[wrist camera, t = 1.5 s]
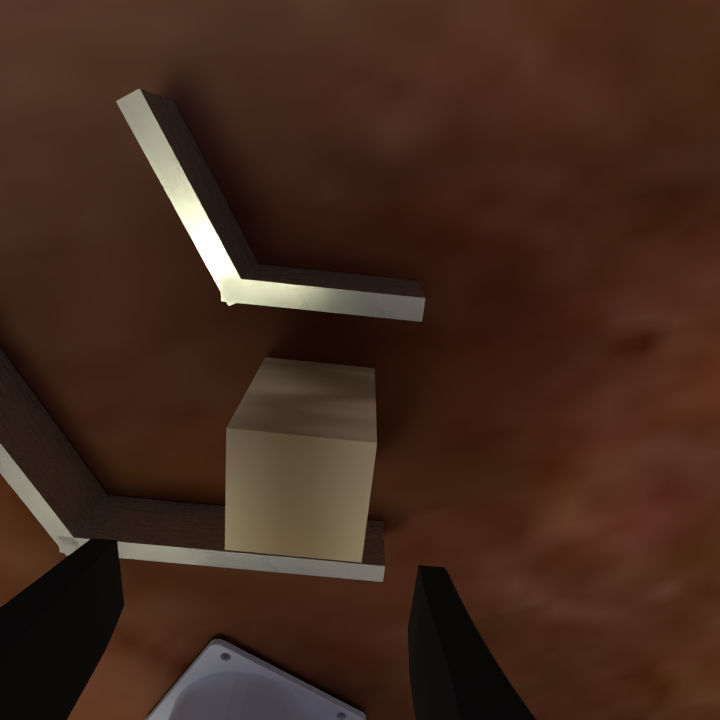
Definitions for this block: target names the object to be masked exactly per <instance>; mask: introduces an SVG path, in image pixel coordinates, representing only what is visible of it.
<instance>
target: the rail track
mask: <svg viewBox="0 0 720 720" xmlns="http://www.w3.org/2000/svg"><path fill="white" fill-rule="evenodd" d="M116 102H117V104H118V106H119V108H120V110H121V111H122V113H123V115H124V117H125V119H126V120H127V122H128V124H129V126H130V128H131V130H132V131H133V133H134V135H135V137H136V139H137V140H138V142H139V144H140V146H141V148H142V150H143V151H144V153H145V155H146V157H147V159H148V160H149V162H150V164H151V166H152V168H153V170H154V171H155V173H156V175H157V177H158V179H159V180H160V182H161V184H162V186H163V188H164V190H165V191H166V193H167V195H168V197H169V199H170V200H171V202H172V204H173V206H174V208H175V210H176V211H177V213H178V215H179V217H180V219H181V220H182V222H183V224H184V226H185V228H186V230H187V231H188V233H189V235H190V237H191V239H192V240H193V242H194V244H195V246H196V248H197V250H198V251H199V253H200V255H201V257H202V259H203V260H204V262H205V264H206V266H207V268H208V270H209V271H210V273H211V275H212V277H213V279H214V280H215V282H216V284H217V286H218V288H219V290H220V291H221V301H224V302H227V304H228V306H230V305H233V304H235V303H244V304H253V305H263V306H273V307H283V308H292V309H302V310H312V311H321V312H331V313H341V314H350V315H360V316H370V317H380V318H389V319H399V320H409V321H418V322H422V317H423V311H424V304H425V296H424V294H423V292H422V290H421V287H420V285H419V283H418V281H416V280H406V279H397V278H387V277H377V276H368V275H358V274H349V273H339V272H330V271H320V270H311V269H301V268H292V267H282V266H273V265H263V264H258V263H257V261H256V259H255V257H254V255H253V253H252V251H251V249H250V247H249V245H248V243H247V241H246V239H245V237H244V235H243V233H242V231H241V230H240V228H239V226H238V224H237V222H236V220H235V218H234V216H233V214H232V212H231V210H230V208H229V206H228V204H227V202H226V200H225V198H224V196H223V195H222V193H221V191H220V189H219V187H218V185H217V183H216V181H215V179H214V177H213V175H212V173H211V171H210V169H209V167H208V165H207V163H206V161H205V160H204V158H203V156H202V154H201V152H200V150H199V148H198V146H197V144H196V142H195V140H194V138H193V136H192V134H191V132H190V130H189V128H188V127H187V125H186V123H185V121H184V119H183V117H182V115H181V113H180V111H179V109H178V107H177V105H176V103H175V101H173V100H170V99H167V98H165V97H162V96H159V95H156V94H153V93H151V92H148V91H145V90H142V89H138V90H136V91H134V92H132V93H130V94H129V95H127V96H125V97H123V98H121V99H119V100H118V101H116ZM0 473H1V474H2V476H3V477H4V478H5V479H6V481H7V482H8V483H9V484H10V486H11V487H12V488H13V489H14V491H15V492H16V493H17V494H18V496H19V497H20V498H21V499H22V501H23V502H24V503H25V504H26V506H27V507H28V508H29V509H30V511H31V512H32V513H33V514H34V516H35V517H36V518H37V519H38V521H39V522H40V523H41V524H42V526H43V527H44V528H45V529H46V531H47V532H48V533H49V534H50V536H51V537H52V538H53V539H54V541H55V542H56V543H57V544H58V546H59V550H60V552H61V553H65V555H66V556H68V555H70V554H71V553H73V552H74V551H75V550H77V549H78V548H79V547H80V546H82V545H83V544H84V543H86V542H87V541H88V540H90V539H91V538H95V539H107V540H117V544H118V553H119V558H126V559H137V560H148V561H159V562H170V563H181V564H192V565H203V566H214V567H225V568H236V569H247V570H258V571H269V572H280V573H291V574H302V575H313V576H324V577H335V578H346V579H357V580H368V581H379V582H383V577H384V570H385V553H384V530H383V521H377V520H367V524H366V532H365V540H364V547H363V555H362V563H361V562H351V561H340V560H329V559H319V558H308V557H297V556H287V555H276V554H265V553H254V552H244V551H233V550H225V506H217V505H206V504H196V503H185V502H174V501H164V500H153V499H142V498H132V497H121V496H110V495H107V493H106V492H105V491H104V489H103V488H102V487H101V485H100V484H99V482H98V481H97V480H96V478H95V477H94V476H93V474H92V473H91V472H90V470H89V469H88V467H87V466H86V465H85V463H84V462H83V461H82V459H81V458H80V456H79V455H78V454H77V452H76V451H75V450H74V448H73V447H72V445H71V444H70V443H69V441H68V440H67V439H66V437H65V436H64V434H63V433H62V432H61V430H60V429H59V428H58V426H57V425H56V423H55V422H54V421H53V419H52V418H51V417H50V415H49V414H48V412H47V411H46V410H45V408H44V407H43V406H42V404H41V403H40V401H39V400H38V399H37V397H36V396H35V395H34V393H33V392H32V390H31V389H30V388H29V386H28V385H27V384H26V382H25V381H24V379H23V378H22V377H21V375H20V374H19V373H18V371H17V370H16V368H15V367H14V366H13V364H12V363H11V362H10V360H9V359H8V357H7V356H6V355H5V353H4V352H3V351H2V349H1V348H0Z"/></svg>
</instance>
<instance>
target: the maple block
mask: <svg viewBox="0 0 720 720" xmlns="http://www.w3.org/2000/svg"><path fill="white" fill-rule="evenodd" d="M376 448H377V423H376V391H375V368H367V367H358V366H348V365H338V364H328V363H318V362H308V361H298V360H288V359H279V358H269V357H265V359H264V360H263V362H262V364H261V366H260V368H259V370H258V371H257V373H256V375H255V377H254V379H253V381H252V382H251V384H250V386H249V388H248V390H247V391H246V393H245V395H244V397H243V399H242V401H241V402H240V404H239V406H238V408H237V410H236V411H235V413H234V415H233V417H232V419H231V421H230V422H229V424H228V426H227V428H226V496H225V550H233V551H244V552H254V553H265V554H276V555H287V556H297V557H308V558H319V559H329V560H340V561H351V562H361V563H362V555H363V547H364V540H365V532H366V524H367V517H368V509H369V501H370V494H371V486H372V478H373V471H374V463H375V456H376Z"/></svg>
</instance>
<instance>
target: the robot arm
mask: <svg viewBox="0 0 720 720" xmlns="http://www.w3.org/2000/svg"><path fill="white" fill-rule="evenodd" d="M123 607H124V599H123V590H122V581H121V571H120V562H119V553H118V544H117V540H107V539H95V538H91V539H90V540H88V541H87V542H86V543H84V544H83V545H82V546H80V547H79V548H78V549H77V550H75V551H74V552H73V553H71V554H70V555H69V556H67V557H66V558H65V559H64V560H62V561H61V562H60V563H58V564H57V565H56V566H55V567H53V568H52V569H51V570H49V571H48V572H47V573H46V574H44V575H43V576H42V577H40V578H39V579H38V580H36V581H35V582H34V583H33V584H31V585H30V586H29V587H27V588H26V589H25V590H23V591H22V592H21V593H19V594H18V595H17V596H15V597H14V598H13V599H11V600H10V601H9V602H7V603H6V604H5V605H3V606H2V607H0V720H67V718H68V716H69V715H70V713H71V711H72V709H73V708H74V706H75V704H76V702H77V700H78V699H79V697H80V695H81V693H82V692H83V690H84V688H85V686H86V684H87V683H88V681H89V679H90V677H91V675H92V674H93V672H94V670H95V668H96V666H97V665H98V663H99V661H100V659H101V657H102V655H103V654H104V652H105V650H106V648H107V645H108V643H109V641H110V638H111V636H112V634H113V631H114V629H115V627H116V624H117V622H118V619H119V617H120V614H121V612H122V609H123ZM408 643H409V671H410V681H411V689H412V696H413V704H414V711H415V719H416V720H536V718H535V717H534V716H533V714H532V713H531V712H530V710H529V709H528V708H527V706H526V705H525V704H524V702H523V701H522V699H521V698H520V696H519V695H518V694H517V692H516V691H515V689H514V688H513V686H512V685H511V683H510V682H509V680H508V679H507V677H506V676H505V674H504V673H503V671H502V670H501V668H500V667H499V665H498V663H497V662H496V660H495V659H494V657H493V655H492V654H491V652H490V650H489V649H488V647H487V645H486V644H485V642H484V640H483V639H482V637H481V635H480V634H479V632H478V630H477V628H476V627H475V625H474V623H473V621H472V619H471V618H470V616H469V614H468V612H467V610H466V608H465V606H464V605H463V603H462V601H461V599H460V597H459V595H458V593H457V591H456V589H455V587H454V584H453V582H452V580H451V578H450V576H449V574H448V572H447V570H446V569H445V568H444V567H432V566H420V565H419V566H418V572H417V578H416V584H415V590H414V596H413V602H412V608H411V614H410V620H409V626H408ZM226 653H227V654H226ZM145 720H366V715H365V714H364V713H363V712H361V711H359V710H358V709H356V708H354V707H352V706H350V705H348V704H346V703H344V702H342V701H340V700H338V699H336V698H334V697H332V696H330V695H329V694H327V693H325V692H323V691H321V690H319V689H317V688H315V687H313V686H311V685H309V684H307V683H305V682H303V681H302V680H300V679H298V678H296V677H294V676H292V675H290V674H288V673H286V672H284V671H282V670H280V669H278V668H276V667H274V666H273V665H271V664H269V663H267V662H265V661H263V660H261V659H259V658H257V657H255V656H253V655H251V654H249V653H247V652H245V651H244V650H242V649H240V648H238V647H236V646H234V645H232V644H230V643H228V642H226V641H224V640H222V639H214V640H212V641H211V642H210V643H209V644H208V645H207V646H206V647H205V649H204V650H203V651H202V652H201V653H200V655H199V656H198V657H197V658H196V659H195V660H194V662H193V663H192V664H191V665H190V666H189V668H188V669H187V670H186V671H185V672H184V674H183V675H182V676H181V677H180V678H179V680H178V681H177V682H176V683H175V684H174V686H173V687H172V688H171V689H170V690H169V691H168V693H167V694H166V695H165V696H164V697H163V699H162V700H161V701H160V702H159V703H158V705H157V706H156V707H155V708H154V709H153V711H152V712H151V713H150V714H149V715H148V716H147V718H146V719H145Z"/></svg>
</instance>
